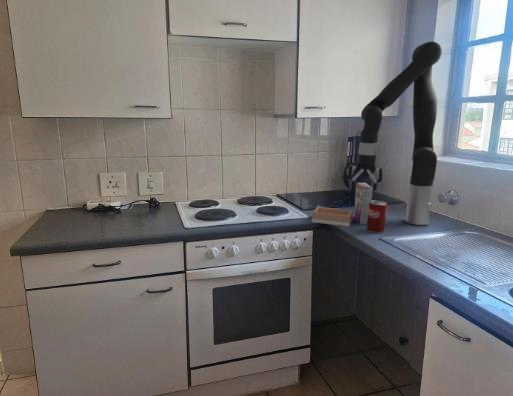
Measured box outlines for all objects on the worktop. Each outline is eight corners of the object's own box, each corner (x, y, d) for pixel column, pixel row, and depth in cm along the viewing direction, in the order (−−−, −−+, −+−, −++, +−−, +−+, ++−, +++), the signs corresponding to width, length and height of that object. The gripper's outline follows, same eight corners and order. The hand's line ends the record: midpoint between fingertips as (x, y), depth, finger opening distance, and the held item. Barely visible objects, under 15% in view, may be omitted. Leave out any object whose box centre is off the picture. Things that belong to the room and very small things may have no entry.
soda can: (372, 234, 153) (375, 205, 150) (363, 228, 160) (365, 200, 157) (388, 232, 155) (391, 204, 152) (378, 227, 162) (381, 200, 159)
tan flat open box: (352, 220, 171) (352, 210, 170) (348, 226, 162) (349, 216, 161) (317, 216, 177) (317, 206, 176) (312, 221, 168) (312, 212, 167)
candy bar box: (353, 217, 176) (355, 182, 173) (363, 217, 176) (366, 182, 172) (358, 224, 166) (362, 187, 162) (370, 224, 166) (373, 187, 162)
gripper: (385, 153, 165) (381, 190, 169) (351, 151, 170) (348, 186, 174) (384, 155, 158) (379, 193, 162) (349, 152, 163) (345, 189, 167)
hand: (363, 190), depth 168 cm, fingers open, 8 cm apart
